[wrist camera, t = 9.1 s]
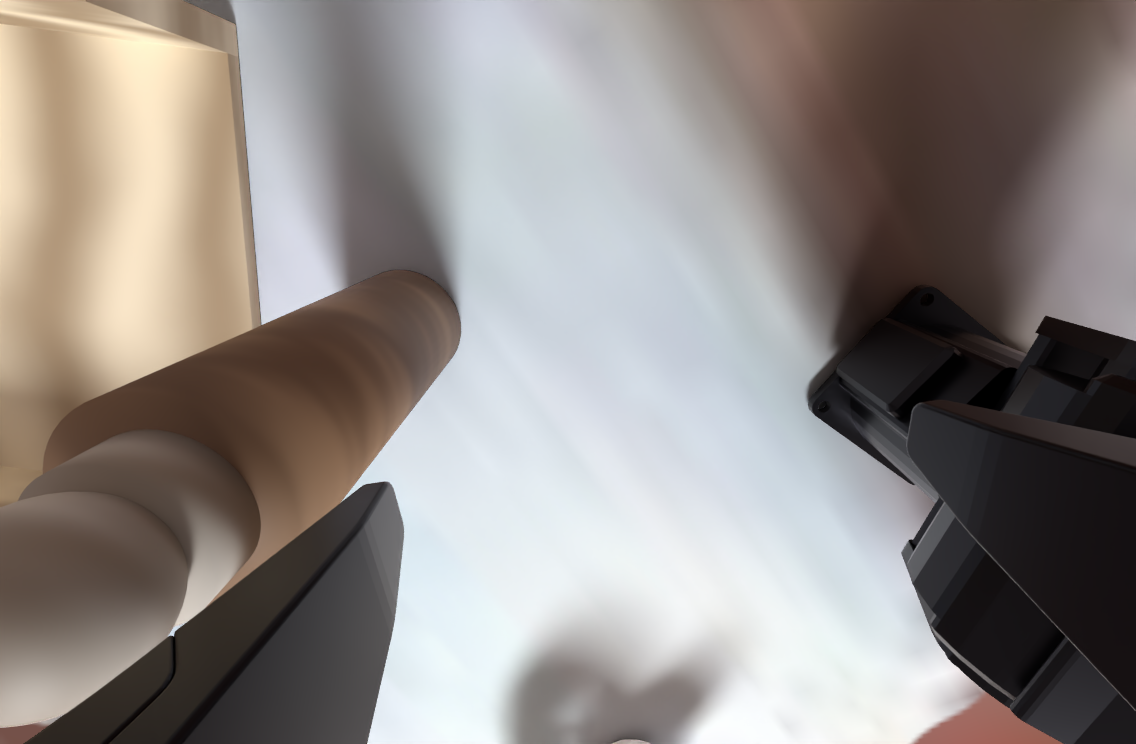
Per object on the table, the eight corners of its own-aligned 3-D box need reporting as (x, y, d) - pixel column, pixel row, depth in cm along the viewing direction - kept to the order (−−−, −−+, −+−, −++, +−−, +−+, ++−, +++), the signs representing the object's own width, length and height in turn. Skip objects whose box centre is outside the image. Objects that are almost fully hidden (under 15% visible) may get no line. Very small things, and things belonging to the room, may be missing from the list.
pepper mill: (481, 312, 21) (193, 667, 6) (426, 397, 23) (71, 871, 7) (382, 246, 21) (-266, 449, 5) (331, 338, 22) (-302, 723, 6)
